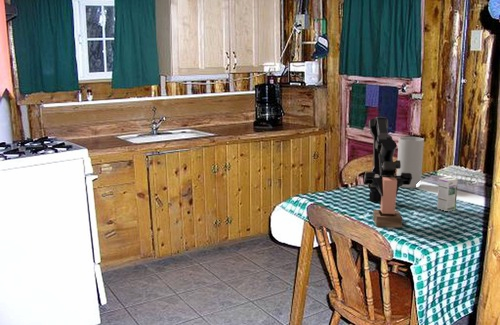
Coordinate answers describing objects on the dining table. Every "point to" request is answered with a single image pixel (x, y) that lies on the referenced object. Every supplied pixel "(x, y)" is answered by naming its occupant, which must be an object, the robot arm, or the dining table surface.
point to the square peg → (388, 195)
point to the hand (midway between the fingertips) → (389, 196)
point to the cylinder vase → (411, 158)
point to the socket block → (387, 219)
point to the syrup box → (447, 193)
